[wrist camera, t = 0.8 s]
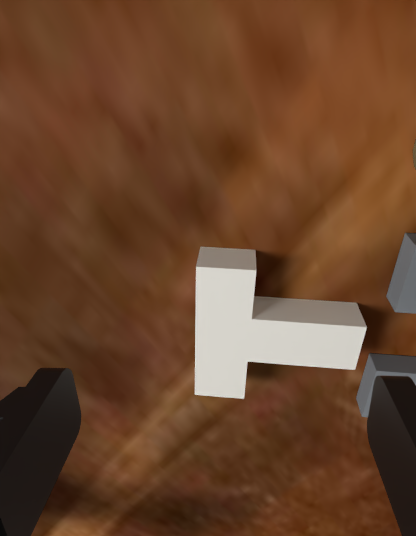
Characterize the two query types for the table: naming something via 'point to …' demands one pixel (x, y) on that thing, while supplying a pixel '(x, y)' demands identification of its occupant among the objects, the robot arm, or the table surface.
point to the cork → (414, 154)
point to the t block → (262, 326)
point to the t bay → (402, 300)
